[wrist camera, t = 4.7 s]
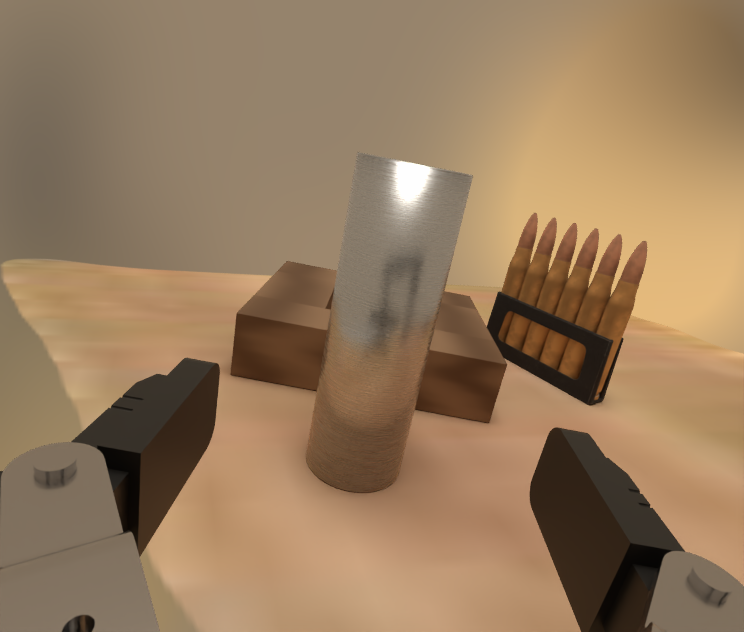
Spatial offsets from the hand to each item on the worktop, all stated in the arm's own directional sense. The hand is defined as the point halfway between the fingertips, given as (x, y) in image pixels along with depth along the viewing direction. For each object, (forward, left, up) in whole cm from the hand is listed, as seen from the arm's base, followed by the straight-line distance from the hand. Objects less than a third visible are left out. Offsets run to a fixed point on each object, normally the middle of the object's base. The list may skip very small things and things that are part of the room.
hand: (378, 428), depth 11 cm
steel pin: (0, -10, -8) cm, 13 cm away
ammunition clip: (-14, -26, -8) cm, 30 cm away
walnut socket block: (0, -23, -8) cm, 24 cm away
